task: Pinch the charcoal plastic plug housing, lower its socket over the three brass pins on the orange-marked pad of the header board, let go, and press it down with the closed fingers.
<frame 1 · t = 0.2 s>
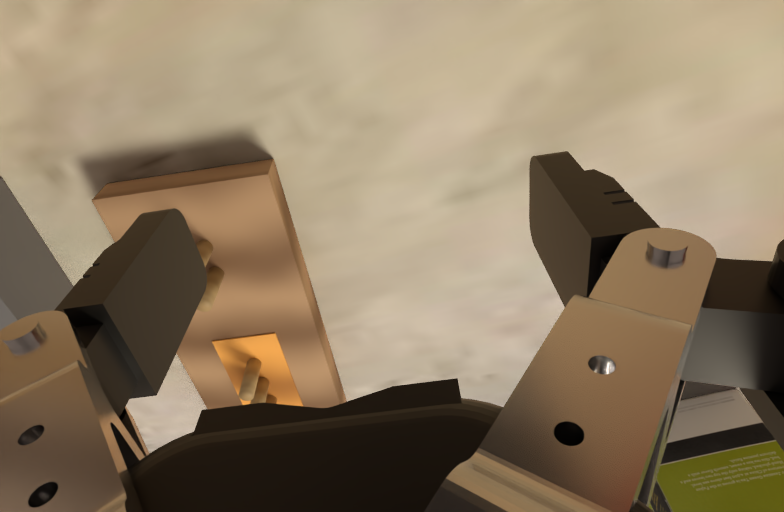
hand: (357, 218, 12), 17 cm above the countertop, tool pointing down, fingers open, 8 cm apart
header board: (247, 311, 36), on the countertop
plug housing: (7, 244, 32), on the countertop
tea box: (676, 444, 47), on the countertop
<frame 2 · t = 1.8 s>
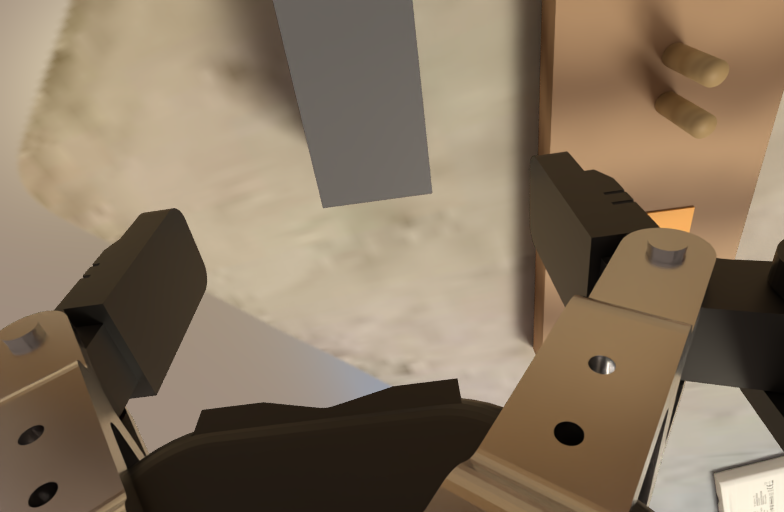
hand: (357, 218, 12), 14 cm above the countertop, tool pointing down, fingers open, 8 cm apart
header board: (632, 185, 27), on the countertop
plug housing: (362, 65, 23), on the countertop
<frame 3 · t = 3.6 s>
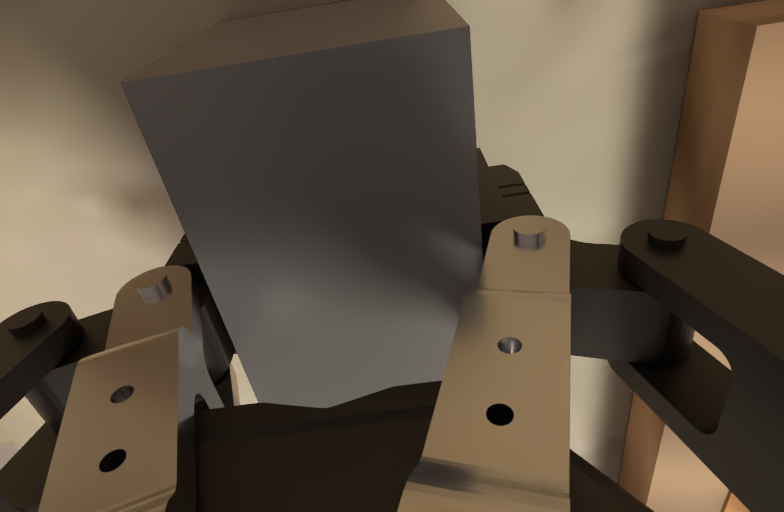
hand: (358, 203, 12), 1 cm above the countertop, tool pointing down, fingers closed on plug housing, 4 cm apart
plug housing: (360, 187, 13), on the countertop, touching gripper
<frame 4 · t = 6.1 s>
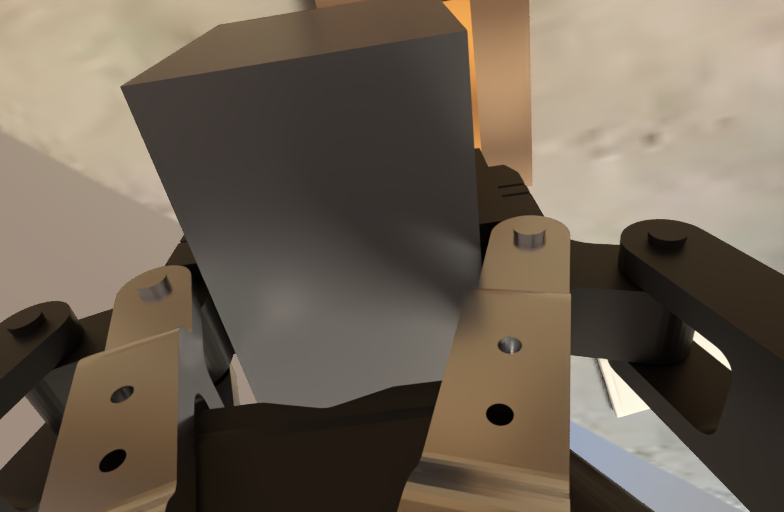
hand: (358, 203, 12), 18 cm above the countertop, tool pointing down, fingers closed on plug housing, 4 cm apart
plug housing: (359, 189, 13), point 17 cm above the countertop, touching gripper
external hard drive: (676, 350, 41), on the countertop
when the fingers open (3 cm above the countertop, at t = 8.7 s): plug housing stays where it is, resting on header board.
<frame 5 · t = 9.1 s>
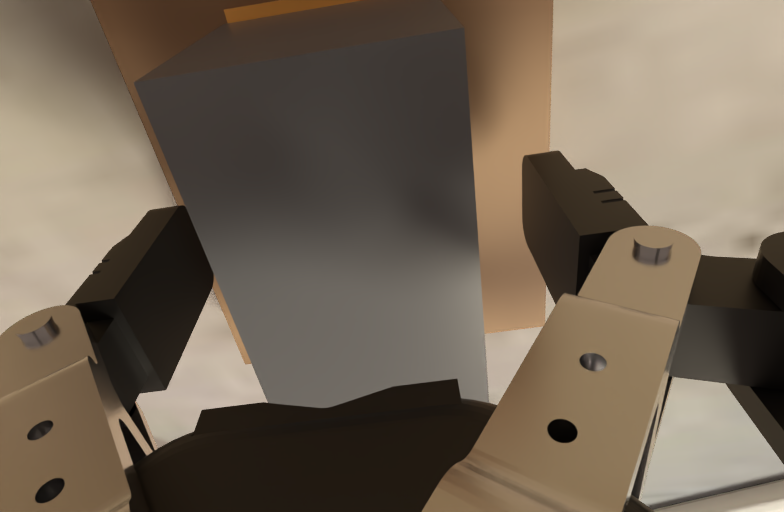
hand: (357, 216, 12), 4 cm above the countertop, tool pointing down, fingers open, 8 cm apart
plug housing: (361, 184, 13), point 2 cm above the countertop, touching header board
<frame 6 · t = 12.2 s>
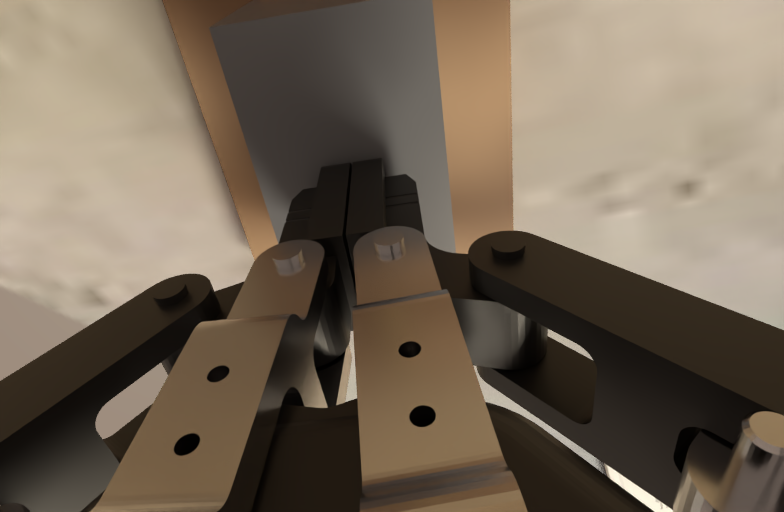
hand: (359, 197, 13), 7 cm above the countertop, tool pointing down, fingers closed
plug housing: (361, 129, 17), point 2 cm above the countertop, touching gripper, header board
external hard drive: (704, 446, 31), on the countertop
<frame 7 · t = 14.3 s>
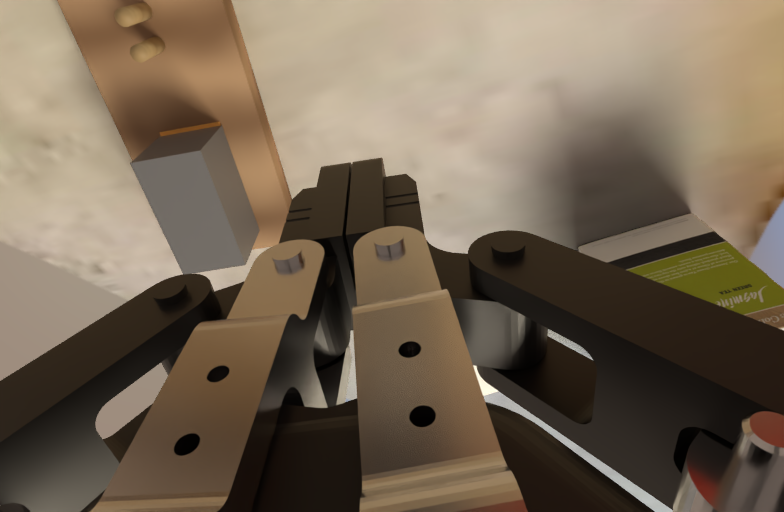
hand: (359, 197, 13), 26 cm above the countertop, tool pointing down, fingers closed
header board: (195, 111, 37), on the countertop
plug housing: (212, 186, 38), point 2 cm above the countertop, touching header board
tea box: (639, 290, 47), on the countertop
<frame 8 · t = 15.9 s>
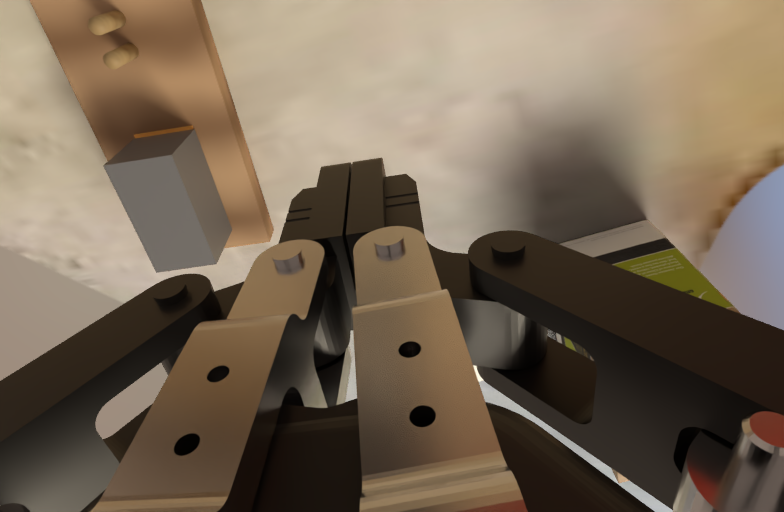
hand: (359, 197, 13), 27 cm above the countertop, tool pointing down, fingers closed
header board: (169, 114, 38), on the countertop
plug housing: (186, 186, 39), point 2 cm above the countertop, touching header board
tea box: (599, 292, 49), on the countertop
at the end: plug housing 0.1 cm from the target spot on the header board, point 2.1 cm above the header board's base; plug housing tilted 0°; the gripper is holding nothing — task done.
